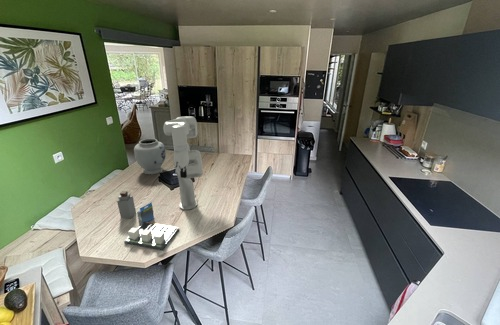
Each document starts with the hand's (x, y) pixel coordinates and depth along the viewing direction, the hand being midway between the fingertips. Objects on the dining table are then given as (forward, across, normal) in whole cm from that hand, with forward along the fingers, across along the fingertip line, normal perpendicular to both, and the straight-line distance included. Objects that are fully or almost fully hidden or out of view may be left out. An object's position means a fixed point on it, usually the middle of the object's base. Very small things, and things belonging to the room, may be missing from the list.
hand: (183, 177), depth 139 cm
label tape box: (+33, +3, -28) cm, 44 cm away
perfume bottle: (+33, +1, -43) cm, 54 cm away
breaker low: (+31, +21, -23) cm, 44 cm away
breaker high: (+31, +21, -7) cm, 38 cm away
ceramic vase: (+33, -68, -70) cm, 103 cm away
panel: (+33, +16, -15) cm, 40 cm away
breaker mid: (+31, +21, -15) cm, 40 cm away
